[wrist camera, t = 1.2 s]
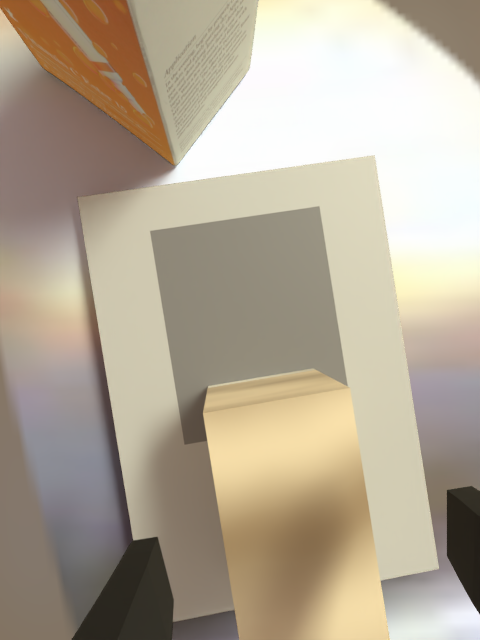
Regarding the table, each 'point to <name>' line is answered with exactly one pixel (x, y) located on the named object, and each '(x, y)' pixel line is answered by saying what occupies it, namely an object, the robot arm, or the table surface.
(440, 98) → the table surface
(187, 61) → the small box
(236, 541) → the block
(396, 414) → the board
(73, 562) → the table surface
